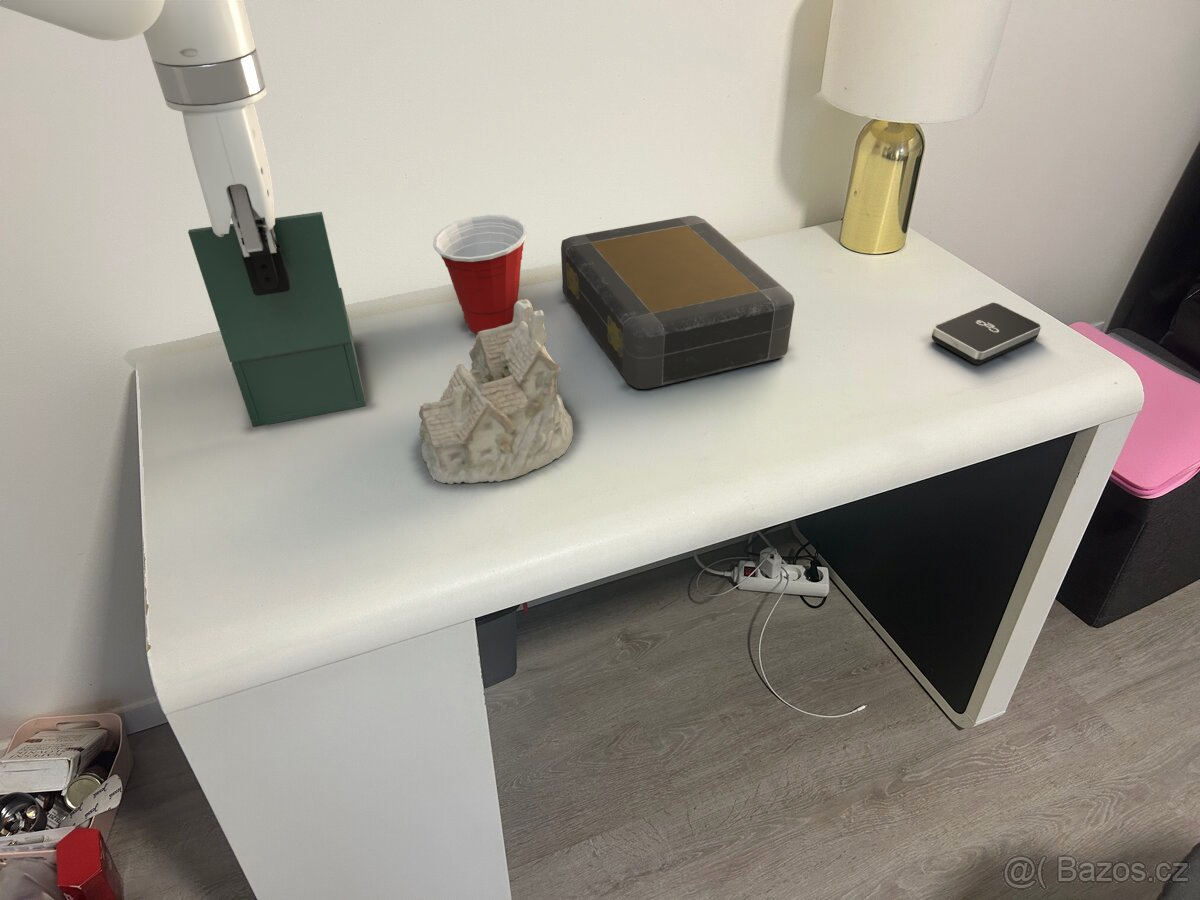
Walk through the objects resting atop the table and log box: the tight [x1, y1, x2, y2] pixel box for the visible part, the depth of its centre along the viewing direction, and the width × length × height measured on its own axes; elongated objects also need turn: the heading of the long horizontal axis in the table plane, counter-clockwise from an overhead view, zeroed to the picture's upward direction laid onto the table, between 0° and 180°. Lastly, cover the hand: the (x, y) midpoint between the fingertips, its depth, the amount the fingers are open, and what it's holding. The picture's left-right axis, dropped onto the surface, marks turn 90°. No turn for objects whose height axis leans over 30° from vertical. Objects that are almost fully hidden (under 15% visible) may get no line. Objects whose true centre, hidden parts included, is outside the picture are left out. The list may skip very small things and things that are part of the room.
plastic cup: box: [432, 214, 528, 334], centre depth 100 cm, size 11×11×12 cm
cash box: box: [560, 215, 796, 390], centre depth 101 cm, size 25×20×8 cm
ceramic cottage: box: [418, 298, 574, 485], centre depth 82 cm, size 16×16×15 cm
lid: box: [187, 211, 351, 363], centre depth 80 cm, size 13×12×1 cm
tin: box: [231, 287, 367, 428], centre depth 91 cm, size 13×12×8 cm
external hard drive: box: [931, 301, 1042, 365], centre depth 99 cm, size 7×11×2 cm, turn 122°
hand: (272, 289), depth 77 cm, fingers closed
